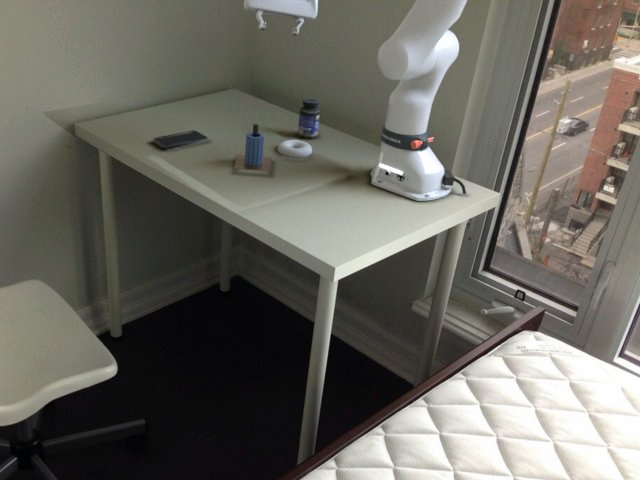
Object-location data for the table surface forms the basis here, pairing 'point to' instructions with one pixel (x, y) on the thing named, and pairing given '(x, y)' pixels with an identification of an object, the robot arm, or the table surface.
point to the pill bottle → (309, 119)
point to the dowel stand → (263, 167)
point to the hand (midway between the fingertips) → (278, 32)
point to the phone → (179, 140)
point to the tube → (254, 149)
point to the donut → (294, 148)
